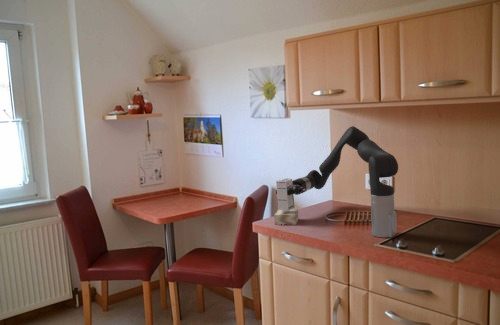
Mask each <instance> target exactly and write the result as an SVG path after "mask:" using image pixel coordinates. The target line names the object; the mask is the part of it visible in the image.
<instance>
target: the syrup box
mask: <svg viewBox="0 0 500 325" xmlns="http://www.w3.org/2000/svg"><path fill="white" fill-rule="evenodd" d="M292 181H293V179H292V178H280V179H278V180H275V184H276V190H277V194H276V196H277V197H276V198H277V208H278V209H277V210H285V211H289V210H294V209H295V198H294V194H291V195H288V194H287V191H288V190H291V189H293V184H292Z"/></svg>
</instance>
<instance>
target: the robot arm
mask: <svg viewBox="0 0 500 325" xmlns="http://www.w3.org/2000/svg"><path fill="white" fill-rule="evenodd" d="M345 145H348V146H349V147H350V148H352V149H353V150H354V149H355V150H356V152H357V155H358V156H359V157H360V159H361V160H363V161H364V162H365V163H367V166H368V174H369V175H368V177H369V189H370V210H371V211H370V216H371V217H370V218H371V235H372V236H373V237H378V238H393V237H394V236H396V235H397V234H398V229H397V228H398V227H397V226H398V225H397V224H398V223H397V211H395V188H394V186H392V185H389V184H385V183H383V182H381V179H382V178H392V177H394V176H396V175H397V174H398V171H399V163H398V160H397V158H396V157H395V156H394V155H393V154H391V153H389V152H387V151H386V150H385V149H383V148H382V147H380V146H379V144H377V143H376V142H374V141H373V140H371V139H370V138H369V136H368V135H367V134H366V133H365V132H364V131H362V130H360V129H359V128H358V127H356V126H352V125H351V126H349V127H348V128H347V129H346V130H345V131H344V133H343V134H342V136H341V137H340V139H339V140H338V142H337V143H336V145H335V146H334V148H333V149H331V152H330V153H329V155H328V156H327V157H326V158H325V159H324V160H323V162H322V163H320V165H319V167H318V170H319V171H320V172H319V171H318V170H316V169H312V170H311V171H309V172H308V174H307V175H305V176H302V177H299V178H296V179H292V184H293V189H291V190H288V191H287V194H288V195H291V194H293V195H295V196H296V195H297V196H298V195H301V194H304V193H306V192H307V191H309V190H311V189H313V188H314V189H315V190H321V189H323V187H325V186H326V183H327V182H328V179H329V178H330V175H331V174H332V173H333V172H334V171H335V170H336V169H337V167H338V166H339V165H340V161H341V156H342V150H343V148H344V146H345ZM380 178H381V179H380ZM275 194H276V195H277V189H276V190H275Z"/></svg>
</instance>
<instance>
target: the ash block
mask: <svg viewBox="0 0 500 325" xmlns="http://www.w3.org/2000/svg"><path fill="white" fill-rule="evenodd" d="M273 215H274V216H273V219H274V221H273V222H274V225H275V226H278V225H279V226H283V225H284V224H287V226H288V225H289V226H290V225H291V226H296V225H297V223H298V221H299V209H291V210H289V211H285V210H279V209H277V211H276V212H275V213H274V214H273ZM281 224H282V225H281ZM284 226H285V225H284Z"/></svg>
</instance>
